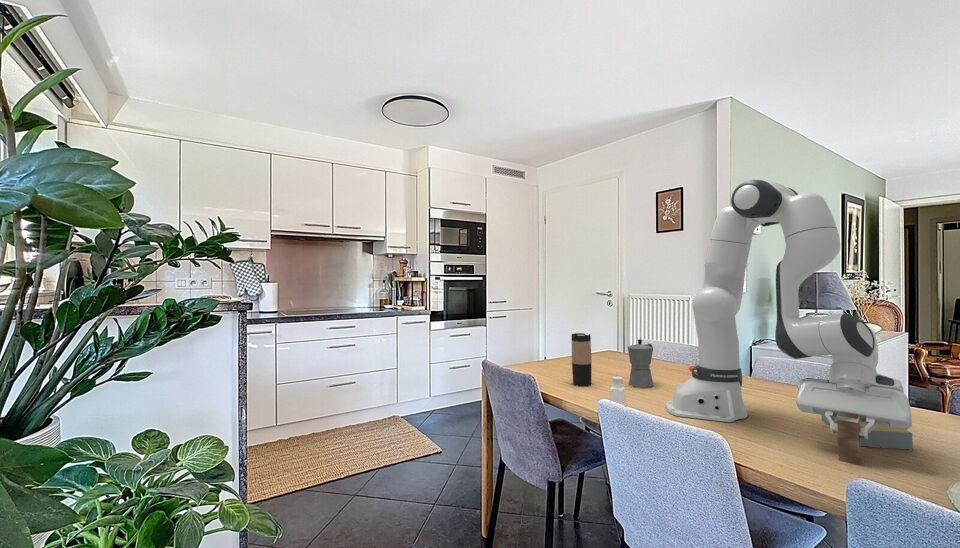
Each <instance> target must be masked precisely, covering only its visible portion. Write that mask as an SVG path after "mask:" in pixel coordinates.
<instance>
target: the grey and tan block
mask: <svg viewBox="0 0 960 548" xmlns="http://www.w3.org/2000/svg"><path fill="white" fill-rule="evenodd" d="M821 421H823V422H824V423H825V424H828V425H829V426H830V424H829V423H828V421H827V420H826V416H824V415H821ZM833 422H834V423H837V418H836V417H834V420H833ZM866 425H867V423H866V422H860V428H864V427H865V426H866ZM913 443H914V442H913V432H911V431H910V430H908V429H901V428H895V427H889V426H883V425H877V424H875V428H874V429H873V430H872V431H871V432H870V433H868V439H863V438H860V446H861V447H866V446H870V447H869V448H880V447H884V448H883V449H893V448H898V449H897V450H906V449H909V450H908V451H913V450H914V444H913Z"/></svg>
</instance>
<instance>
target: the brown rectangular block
mask: <svg viewBox="0 0 960 548" xmlns="http://www.w3.org/2000/svg"><path fill="white" fill-rule="evenodd" d="M859 427H860V416H859V415H853V414H847V413H841V412H839V413H838V415H837V428H838V434H837V449H838V454H837V455H838V461H841V462H845V463H850V464H853V463H854V465H859V466H860V464H861V462H860V461H862V452H861V451H862V450H861V447H862V446H861V445H860V438H859Z"/></svg>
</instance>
